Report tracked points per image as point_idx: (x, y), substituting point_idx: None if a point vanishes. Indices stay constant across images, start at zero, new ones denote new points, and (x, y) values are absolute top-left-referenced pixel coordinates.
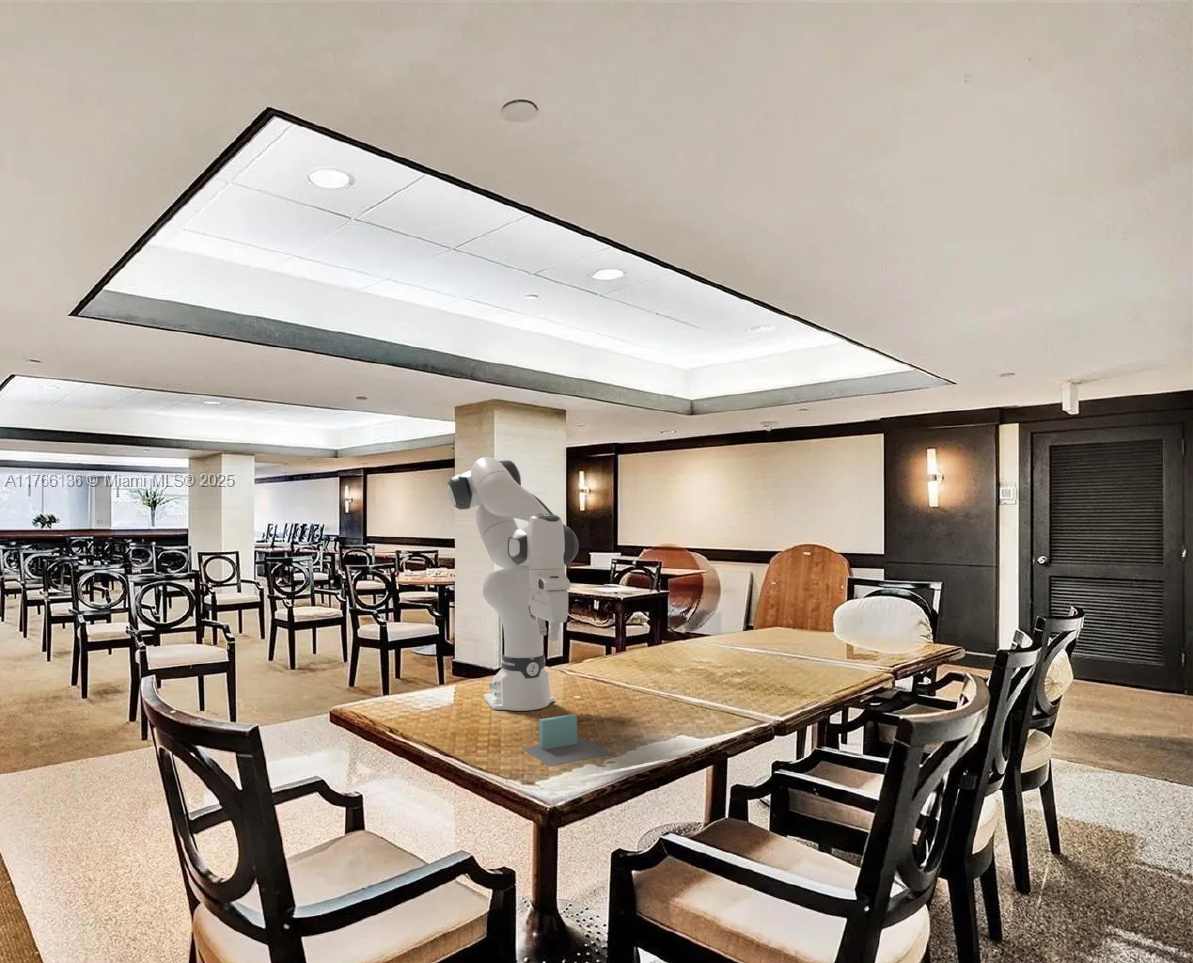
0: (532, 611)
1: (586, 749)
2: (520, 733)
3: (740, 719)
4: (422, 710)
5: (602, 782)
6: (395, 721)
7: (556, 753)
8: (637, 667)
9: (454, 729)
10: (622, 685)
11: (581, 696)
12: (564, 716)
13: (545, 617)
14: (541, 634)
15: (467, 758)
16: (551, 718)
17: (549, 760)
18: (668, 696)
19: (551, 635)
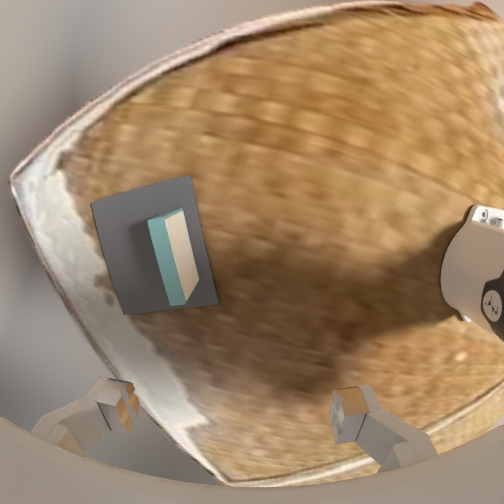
0: (479, 460)
1: (150, 285)
2: (316, 203)
3: (248, 475)
4: (496, 95)
5: (48, 257)
6: (450, 34)
7: (142, 230)
8: (490, 426)
9: (388, 91)
10: (457, 412)
11: (458, 362)
12: (169, 279)
13: (54, 462)
14: (333, 396)
15: (192, 74)
16: (161, 246)
17: (113, 208)
18: None
19: (91, 393)
